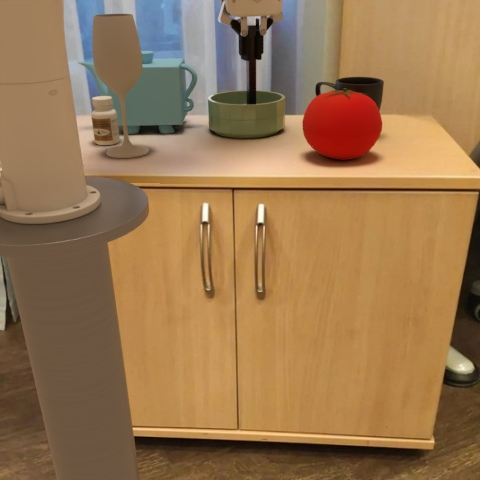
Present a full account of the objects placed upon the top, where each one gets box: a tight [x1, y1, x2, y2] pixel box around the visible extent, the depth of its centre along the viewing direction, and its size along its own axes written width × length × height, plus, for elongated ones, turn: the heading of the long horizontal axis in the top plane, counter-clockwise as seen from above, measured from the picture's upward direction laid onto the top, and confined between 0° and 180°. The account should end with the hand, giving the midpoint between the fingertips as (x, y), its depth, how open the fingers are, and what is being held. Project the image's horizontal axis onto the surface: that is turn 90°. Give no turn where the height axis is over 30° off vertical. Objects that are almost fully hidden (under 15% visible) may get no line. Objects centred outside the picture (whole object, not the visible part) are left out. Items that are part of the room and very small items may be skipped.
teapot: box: [77, 50, 198, 135], centre depth 114 cm, size 22×11×14 cm, turn 89°
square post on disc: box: [241, 24, 258, 105], centre depth 109 cm, size 4×4×16 cm
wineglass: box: [91, 13, 150, 159], centre depth 97 cm, size 8×8×21 cm
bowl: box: [207, 89, 286, 139], centre depth 113 cm, size 14×14×6 cm
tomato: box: [301, 88, 383, 161], centre depth 95 cm, size 11×12×10 cm
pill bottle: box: [90, 95, 121, 146], centre depth 106 cm, size 4×4×8 cm
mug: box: [314, 76, 385, 113], centre depth 107 cm, size 8×12×10 cm
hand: (251, 58), depth 108 cm, fingers closed on square post on disc, 1 cm apart
